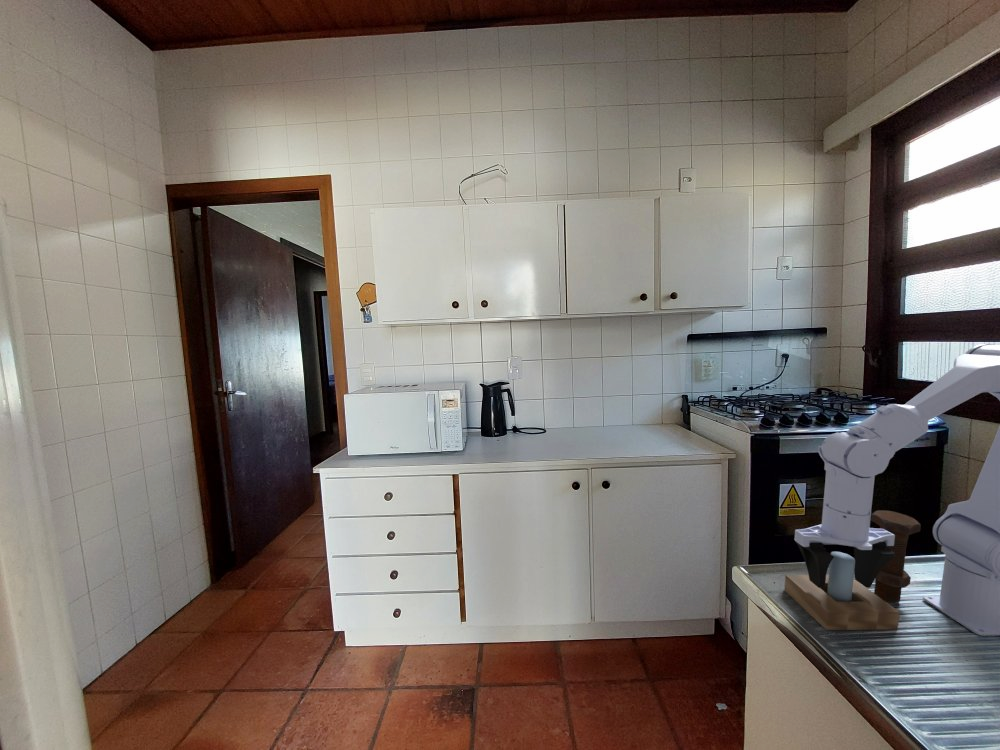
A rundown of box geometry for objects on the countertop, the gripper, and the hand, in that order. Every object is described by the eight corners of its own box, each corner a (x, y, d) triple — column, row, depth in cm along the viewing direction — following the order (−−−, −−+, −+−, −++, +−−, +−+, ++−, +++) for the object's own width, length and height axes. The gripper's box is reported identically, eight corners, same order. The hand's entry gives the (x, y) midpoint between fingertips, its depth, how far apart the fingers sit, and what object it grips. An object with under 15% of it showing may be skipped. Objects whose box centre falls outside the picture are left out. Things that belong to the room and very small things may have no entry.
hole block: (846, 589, 68) (847, 574, 67) (897, 629, 59) (899, 611, 58) (784, 590, 68) (785, 574, 68) (826, 629, 59) (827, 612, 59)
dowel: (837, 602, 65) (842, 550, 64) (855, 615, 62) (860, 561, 61) (821, 603, 65) (825, 552, 63) (838, 616, 62) (843, 562, 60)
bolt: (918, 612, 62) (929, 527, 60) (882, 608, 63) (892, 524, 61) (890, 588, 68) (899, 510, 66) (857, 585, 69) (865, 508, 67)
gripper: (821, 519, 57) (814, 601, 59) (918, 518, 57) (908, 600, 59) (787, 499, 64) (782, 572, 66) (873, 497, 64) (866, 571, 66)
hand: (839, 583), depth 63 cm, fingers open, 7 cm apart
